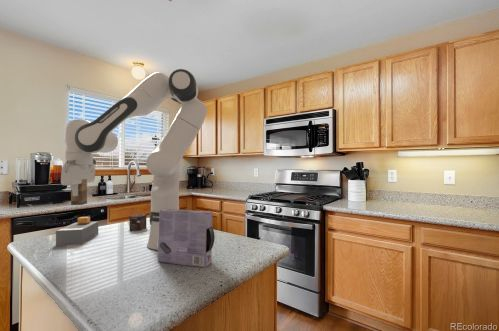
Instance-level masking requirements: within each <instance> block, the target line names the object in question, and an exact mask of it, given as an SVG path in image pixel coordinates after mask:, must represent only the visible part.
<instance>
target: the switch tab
mask: <svg viewBox="0 0 499 331" xmlns="http://www.w3.org/2000/svg"><path fill="white" fill-rule="evenodd" d="M77 222H78V224H81V223H89V222H91V216H80V217H77Z"/></svg>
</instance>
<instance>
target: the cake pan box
mask: <svg viewBox="0 0 499 331" xmlns="http://www.w3.org/2000/svg"><path fill="white" fill-rule="evenodd" d="M214 244H215V231H214V228H213V211H203V210H189V209H180V210H176V209H163V210H160V212H159V242H158V251H157V262H158V263H165V264H174V265H178V266H179V265H181V266H191V267H199V268H207V267H209V265H210V264H211V263H212V257H213V256H212V253H213V252H212V250H213V247H214Z"/></svg>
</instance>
